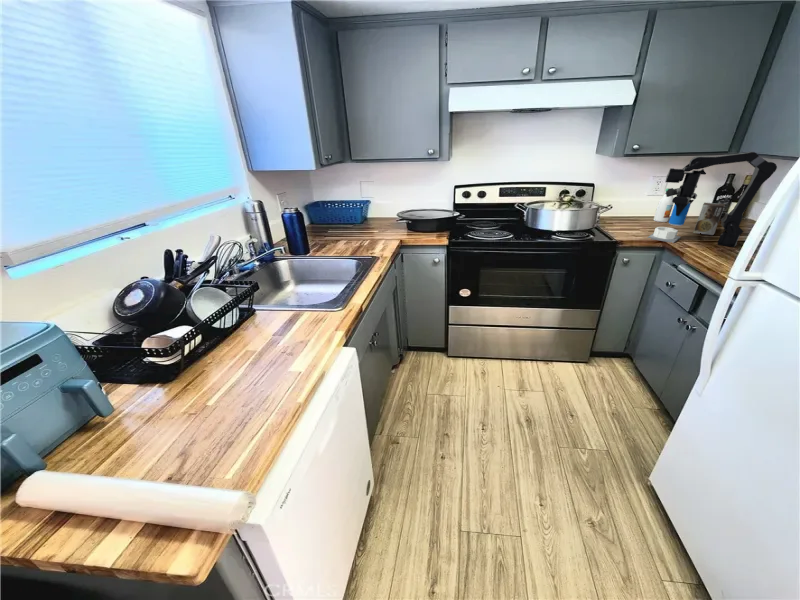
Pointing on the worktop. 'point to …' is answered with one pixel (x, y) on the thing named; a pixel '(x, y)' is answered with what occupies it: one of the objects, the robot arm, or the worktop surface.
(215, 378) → the worktop surface
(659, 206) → the milk bottle
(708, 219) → the coffee box
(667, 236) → the socket
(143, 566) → the worktop surface
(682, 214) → the beverage can
